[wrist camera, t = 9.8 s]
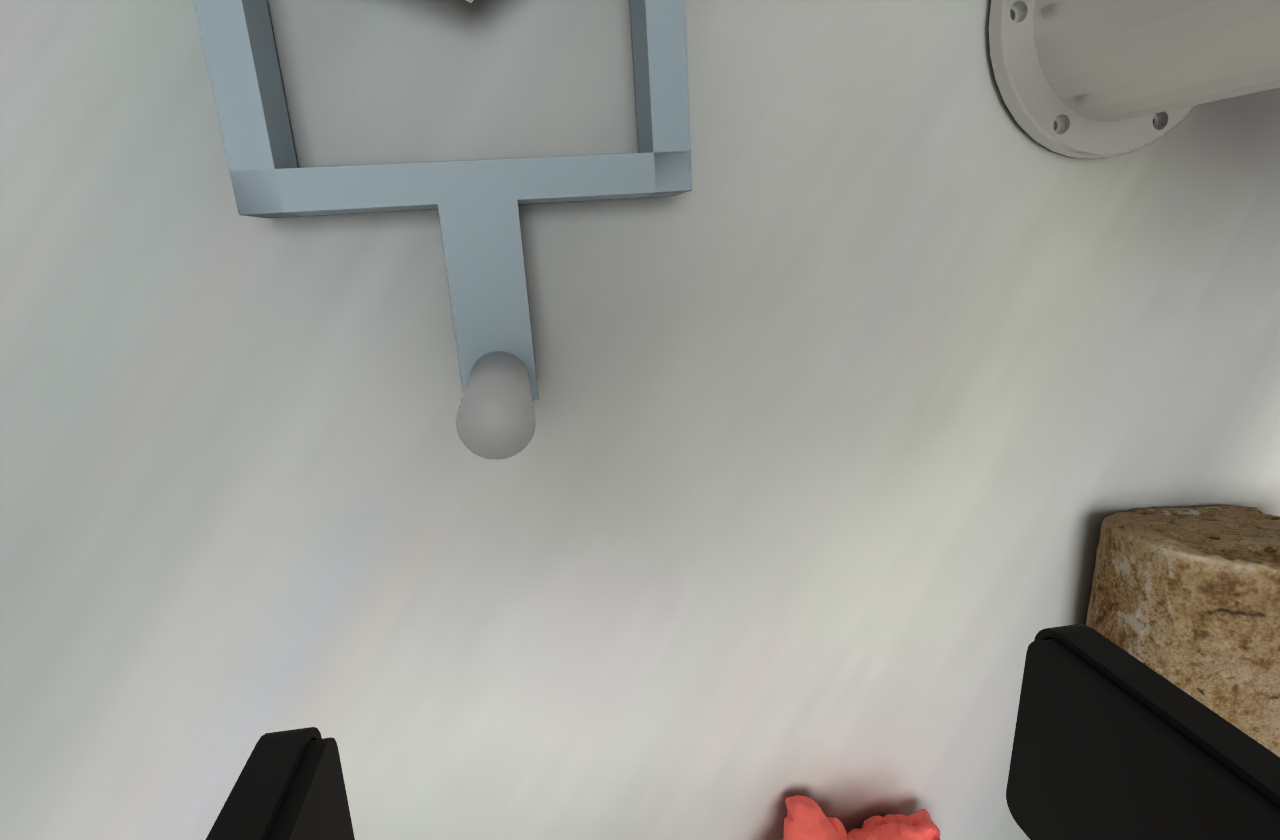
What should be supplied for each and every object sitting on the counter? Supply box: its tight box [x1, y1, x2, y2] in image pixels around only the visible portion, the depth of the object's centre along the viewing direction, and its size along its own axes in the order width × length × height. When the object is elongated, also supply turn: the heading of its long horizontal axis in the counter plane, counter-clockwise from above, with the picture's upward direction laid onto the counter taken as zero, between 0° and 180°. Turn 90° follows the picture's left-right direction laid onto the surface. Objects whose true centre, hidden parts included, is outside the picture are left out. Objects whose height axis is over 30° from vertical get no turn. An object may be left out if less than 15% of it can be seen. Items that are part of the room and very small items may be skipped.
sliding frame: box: [194, 0, 692, 459], centre depth 23 cm, size 24×17×10 cm
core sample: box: [1086, 505, 1280, 757], centre depth 39 cm, size 14×26×10 cm, turn 2°
